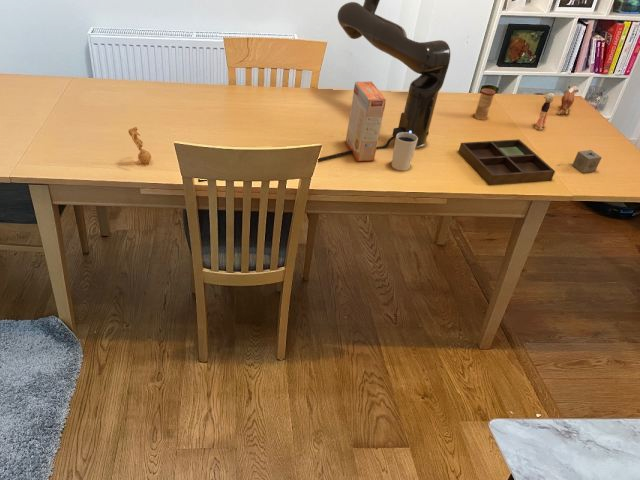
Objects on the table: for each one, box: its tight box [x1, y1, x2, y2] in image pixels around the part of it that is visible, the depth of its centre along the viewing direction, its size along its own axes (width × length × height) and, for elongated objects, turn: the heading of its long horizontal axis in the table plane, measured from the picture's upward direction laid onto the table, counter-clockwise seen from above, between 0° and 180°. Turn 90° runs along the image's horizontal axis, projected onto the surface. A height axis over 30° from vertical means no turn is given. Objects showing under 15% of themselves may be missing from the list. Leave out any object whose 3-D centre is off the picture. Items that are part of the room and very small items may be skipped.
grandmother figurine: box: [534, 92, 556, 131], centre depth 208 cm, size 8×4×13 cm, turn 169°
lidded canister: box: [473, 87, 496, 121], centre depth 214 cm, size 5×5×10 cm
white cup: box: [391, 132, 418, 171], centre depth 183 cm, size 7×7×10 cm
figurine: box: [128, 126, 152, 164], centre depth 178 cm, size 8×6×12 cm
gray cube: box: [572, 149, 602, 174], centre depth 189 cm, size 5×5×5 cm
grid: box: [458, 138, 556, 186], centre depth 188 cm, size 21×21×3 cm
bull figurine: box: [557, 85, 579, 115], centre depth 222 cm, size 4×13×8 cm, turn 148°
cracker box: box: [345, 81, 387, 162], centre depth 186 cm, size 14×6×21 cm, turn 9°
